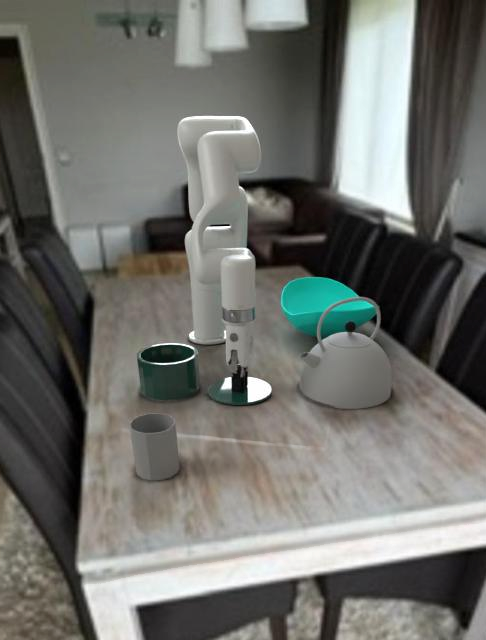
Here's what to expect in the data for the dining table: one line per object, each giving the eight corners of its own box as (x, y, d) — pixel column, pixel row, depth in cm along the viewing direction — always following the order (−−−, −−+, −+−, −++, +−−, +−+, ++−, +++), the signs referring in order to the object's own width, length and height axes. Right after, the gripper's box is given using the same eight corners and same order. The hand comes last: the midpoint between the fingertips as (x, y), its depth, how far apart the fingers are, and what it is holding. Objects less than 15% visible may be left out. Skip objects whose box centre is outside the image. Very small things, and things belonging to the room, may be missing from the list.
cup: (156, 454, 115) (151, 409, 109) (188, 465, 111) (184, 420, 105) (127, 472, 109) (120, 425, 104) (158, 485, 105) (153, 437, 100)
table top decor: (396, 352, 164) (402, 306, 156) (305, 361, 158) (308, 314, 151) (342, 314, 196) (346, 274, 189) (266, 320, 190) (266, 279, 183)
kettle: (324, 418, 128) (331, 319, 116) (275, 383, 145) (276, 293, 133) (410, 396, 138) (425, 303, 125) (354, 366, 154) (362, 281, 142)
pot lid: (217, 378, 147) (216, 355, 143) (276, 383, 144) (277, 360, 141) (200, 404, 134) (199, 379, 131) (265, 410, 131) (265, 385, 128)
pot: (153, 376, 149) (149, 341, 144) (206, 380, 147) (204, 345, 142) (132, 399, 137) (127, 362, 132) (189, 404, 135) (187, 366, 130)
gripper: (247, 326, 121) (247, 404, 131) (261, 304, 134) (261, 377, 144) (213, 324, 122) (216, 401, 132) (231, 303, 135) (232, 375, 146)
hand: (239, 388), depth 138 cm, fingers closed on pot lid, 2 cm apart
